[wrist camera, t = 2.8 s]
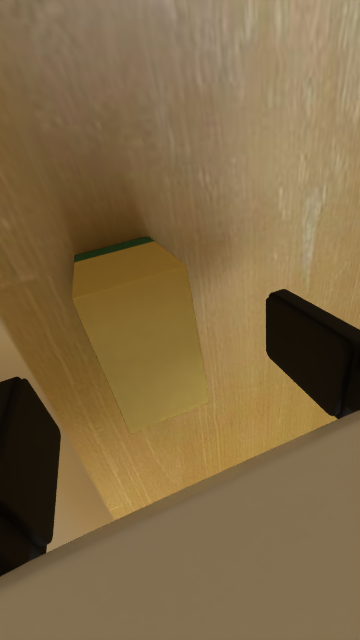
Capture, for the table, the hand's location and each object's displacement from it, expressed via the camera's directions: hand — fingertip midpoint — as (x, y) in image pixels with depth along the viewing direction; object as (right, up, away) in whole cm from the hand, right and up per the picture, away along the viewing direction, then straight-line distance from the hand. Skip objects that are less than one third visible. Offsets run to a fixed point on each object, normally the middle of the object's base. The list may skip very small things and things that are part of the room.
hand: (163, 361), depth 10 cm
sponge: (-2, +3, +5) cm, 7 cm away
